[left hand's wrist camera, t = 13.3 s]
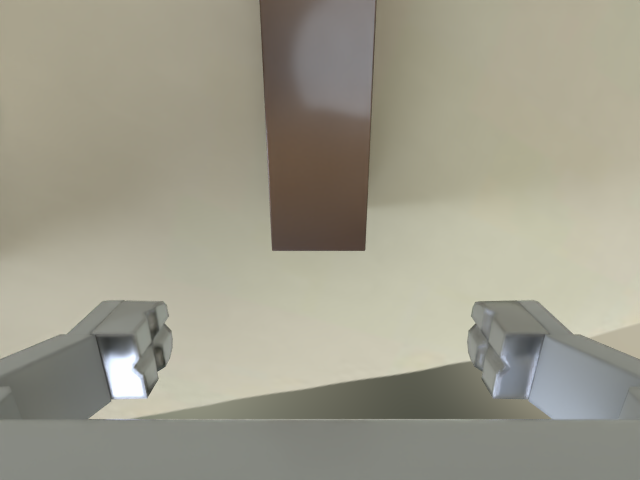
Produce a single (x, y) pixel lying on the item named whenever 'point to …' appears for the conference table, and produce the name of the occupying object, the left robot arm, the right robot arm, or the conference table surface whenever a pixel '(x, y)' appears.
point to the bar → (318, 120)
